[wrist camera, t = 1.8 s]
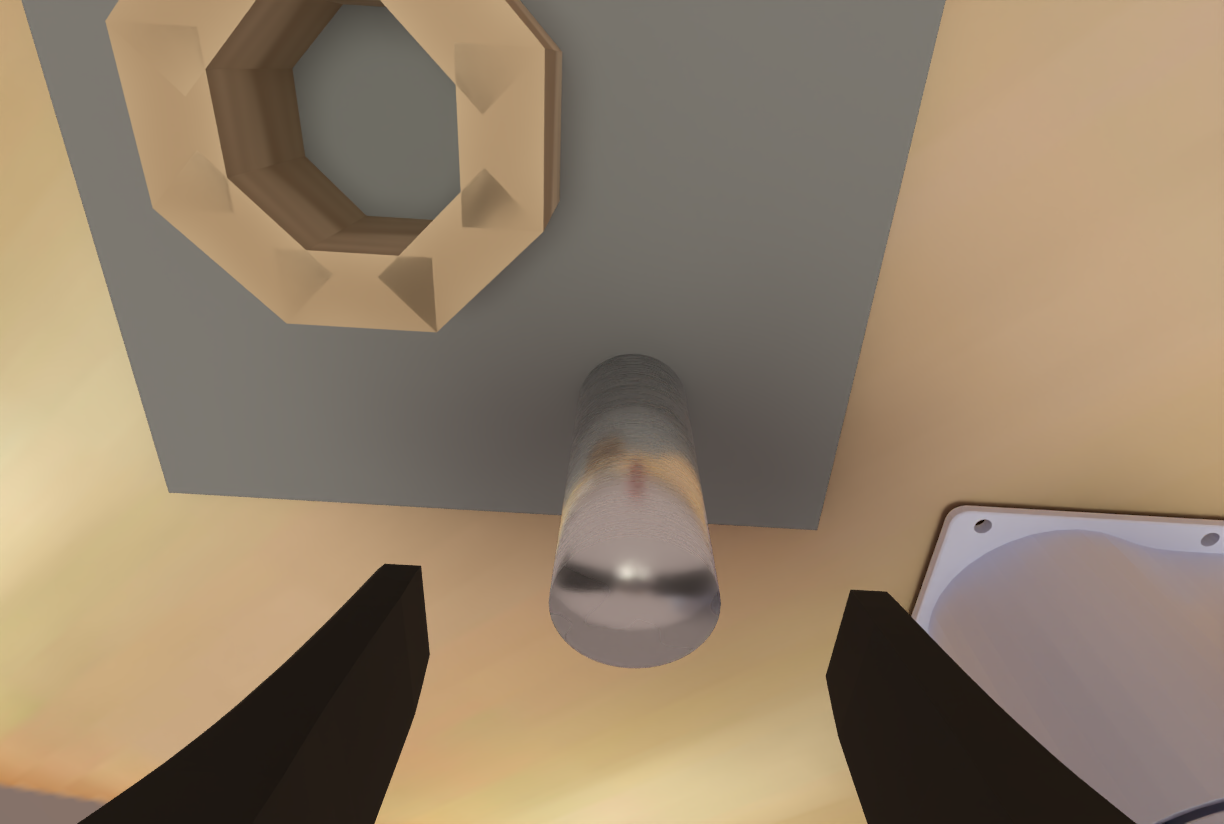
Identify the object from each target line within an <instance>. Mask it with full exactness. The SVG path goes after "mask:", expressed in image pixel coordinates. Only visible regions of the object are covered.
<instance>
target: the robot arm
mask: <svg viewBox="0 0 1224 824" xmlns="http://www.w3.org/2000/svg"><path fill="white" fill-rule="evenodd" d="M984 519H985V521H984V522H983V523H981V524H980V525H975V524H976V523H977V522H978V521H980V520H984ZM1205 535H1206V536H1205ZM429 655H430V653H429V642H428V632H427V622H426V612H425V602H424V591H423V581H422V571H421V566H413V565H395V564H384V565H383V566H382V567H380V568H379V569H378V570H377V571H376V572H375V573H374V574H373V575H372V576H371V577H370V578H369V579H368V580H367V581H366V582H365V583H364V584H363V585H362V587H361V588H360V589H359V590H358V591H357V592H356V593H355V594H354V595H353V596H352V597H351V598H350V599H349V600H348V601H347V602H346V603H345V604H344V605H343V606H342V607H341V608H340V609H339V610H338V611H337V612H336V613H335V614H334V615H333V616H332V617H331V618H330V619H329V620H328V621H327V622H326V623H325V624H324V625H323V626H322V627H321V628H320V629H319V630H318V631H317V632H316V633H315V634H314V635H313V636H312V637H311V638H310V639H309V640H308V641H307V642H306V643H305V644H304V645H303V646H302V647H301V648H300V649H299V650H298V651H296V652H295V653H294V654H293V655H292V656H291V657H290V658H289V659H288V660H287V661H286V662H285V663H284V664H283V665H282V666H281V667H279V668H278V669H277V670H276V671H275V672H274V673H273V674H272V675H270V676H269V677H268V678H267V679H266V680H265V681H264V682H263V683H261V684H260V685H259V686H258V687H257V688H256V689H255V690H254V691H252V692H251V693H250V694H249V695H248V696H247V697H246V698H245V699H243V700H242V701H241V702H240V703H239V704H238V705H237V706H235V707H234V708H233V709H232V710H231V711H229V712H228V713H227V714H226V715H225V716H223V717H222V718H221V719H220V720H219V721H217V722H216V723H215V724H214V725H212V726H211V727H210V728H209V729H207V730H206V731H205V732H204V733H202V734H201V735H200V736H199V737H197V738H196V739H195V740H194V741H192V742H191V743H190V744H188V745H187V746H186V747H185V748H183V749H182V750H181V751H179V752H178V753H177V754H175V755H174V756H173V757H172V758H170V759H169V760H168V761H166V762H165V763H164V764H162V765H161V766H159V767H158V768H157V769H155V770H154V771H152V772H151V773H150V774H148V775H147V776H145V777H144V778H143V779H141V780H140V781H138V782H137V783H136V784H134V785H133V786H131V787H130V788H128V789H127V790H125V791H124V792H123V793H121V794H120V795H118V796H117V797H115V798H114V799H112V800H111V801H110V802H108V803H107V804H105V805H104V806H102V807H101V808H99V809H98V810H97V811H95V812H94V813H92V814H91V815H89V816H88V817H86V818H85V819H84V820H82V821H80V822H79V823H78V824H374V823H375V820H376V818H377V815H378V812H379V810H380V807H381V804H382V802H383V799H384V796H385V794H386V791H387V788H388V786H389V783H390V780H391V778H392V775H393V772H394V770H395V767H396V764H397V762H398V759H399V756H400V754H401V751H402V748H403V746H404V743H405V740H406V737H407V735H408V732H409V729H410V726H411V724H412V721H413V718H414V715H415V712H416V708H417V704H418V700H419V697H420V693H421V689H422V685H423V681H424V676H425V672H426V668H427V664H428V660H429ZM826 680H827V685H828V690H829V695H830V700H831V705H832V710H833V715H834V719H835V724H836V728H837V732H838V737H839V740H840V743H841V746H842V749H843V752H844V755H845V758H846V761H847V764H848V767H849V770H850V773H851V776H852V779H853V782H854V785H855V788H856V791H857V794H858V797H859V800H860V803H861V806H862V809H863V812H864V814H865V817H866V820H867V823H868V824H1224V520H1208V519H1191V518H1174V517H1157V516H1140V515H1122V514H1105V513H1088V512H1071V511H1054V510H1037V509H1020V508H1002V507H985V506H968V505H965V506H959V507H956V508H954V509H953V510H951V511H950V512H949V513H948V515H947V516H946V518H945V521H944V524H943V527H942V530H941V533H940V535H939V538H938V541H937V544H936V547H935V550H934V553H933V556H932V558H931V561H930V564H929V567H928V570H927V573H926V576H925V578H924V581H923V584H922V587H921V590H920V593H919V596H918V599H917V601H916V604H915V607H914V610H913V613H912V616H910V615H909V614H908V613H907V612H906V611H905V610H904V609H903V608H902V606H901V605H900V604H899V603H898V602H897V601H896V600H895V599H894V598H893V597H892V596H891V595H890V594H889V593H888V592H882V591H864V590H850V593H849V597H848V600H847V604H846V607H845V611H844V614H843V618H842V621H841V625H840V628H839V632H838V635H837V639H836V642H835V646H834V649H833V653H832V656H831V660H830V663H829V667H828V670H827V674H826Z"/></svg>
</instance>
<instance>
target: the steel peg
mask: <svg viewBox="0 0 1224 824" xmlns="http://www.w3.org/2000/svg"><path fill="white" fill-rule="evenodd" d="M720 606H721V602H720V593H719V587H718V581H717V575H716V569H715V564H714V558H713V552H712V546H711V541H710V535H709V529H708V523H707V517H706V512H705V506H704V500H703V494H702V489H701V483H700V477H699V471H698V465H697V460H696V454H695V448H694V442H693V436H692V431H691V425H690V419H689V413H688V408H687V402H686V396H685V391H684V388H683V385H682V383H681V381H680V379H679V377H678V376H677V375H676V373H675V372H674V371H673V370H672V369H671V368H670V367H669V366H668V365H666V364H665V363H663V362H662V361H660V360H658V359H656V358H653V357H651V356H647V355H642V354H623V355H618V356H615V357H612V358H609V359H607V360H605V361H603V362H602V363H600V364H599V365H597V366H596V367H595V368H594V369H593V370H592V371H591V372H590V373H589V375H588V376H587V377H586V379H585V381H584V383H583V385H582V387H581V391H580V395H579V402H578V409H577V415H576V422H575V429H574V435H573V442H572V449H571V455H570V462H569V469H568V475H567V482H566V489H565V495H564V502H563V509H562V515H561V522H560V529H559V535H558V542H557V549H556V555H555V562H554V569H553V575H552V582H551V589H550V596H549V611H550V615H551V619H552V621H553V624H554V626H555V628H556V629H557V631H558V633H559V634H560V635H561V637H562V638H563V639H564V640H565V641H566V642H567V643H568V644H569V645H570V646H571V647H572V648H574V649H575V650H576V651H578V652H579V653H581V654H582V655H584V656H586V657H588V658H590V659H592V660H595V661H597V662H600V663H603V664H607V665H611V666H616V667H623V668H648V667H654V666H660V665H664V664H667V663H671V662H673V661H676V660H678V659H680V658H682V657H684V656H686V655H688V654H690V653H691V652H692V651H694V650H695V649H697V648H698V647H699V646H700V645H701V644H702V643H704V641H705V640H706V639H707V638H708V637H709V636H710V634H711V633H712V631H713V629H714V628H715V625H716V623H717V621H718V618H719V614H720Z"/></svg>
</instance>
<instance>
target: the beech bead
mask: <svg viewBox="0 0 1224 824" xmlns="http://www.w3.org/2000/svg"><path fill="white" fill-rule="evenodd" d="M343 4H347V5H363V6H379V7H387V9H388V10H389V11H390V12H391V13H392V14H393V15H394V16H395V17H396V19H397V20H398V21H399V22H400V23H401V24H402V25H403V26H404V27H405V29H406V30H407V31H408V32H409V33H410V34H411V35H412V36H413V38H414V39H415V40H416V41H417V42H418V43H419V44H420V45H421V46H422V48H423V49H424V50H425V51H426V52H427V53H428V54H429V55H430V56H431V58H432V59H433V60H434V61H435V62H436V63H437V64H438V65H439V66H440V68H441V69H442V70H443V71H444V72H445V73H446V74H447V75H448V77H449V78H450V79H451V80H452V81H453V82H454V83H455V84H456V102H457V123H458V145H459V166H460V187H461V192H460V193H459V194H458V195H457V196H456V197H455V198H454V199H453V200H452V201H451V203H450V204H449V205H448V206H447V207H446V208H445V209H444V210H443V211H442V212H441V213H440V214H439V215H438V216H437V217H436V218H435V219H434V220H427V219H411V218H394V217H378V216H366V215H365V214H364V213H363V212H362V211H361V210H360V209H359V208H358V207H357V206H356V205H355V204H354V203H353V202H352V201H351V200H350V199H349V198H348V197H347V196H346V195H345V194H344V193H343V192H342V191H340V190H339V189H338V188H337V187H336V186H335V185H334V184H333V183H332V182H331V181H330V180H329V179H328V178H327V177H326V176H325V175H324V174H323V173H322V172H321V171H320V170H319V169H318V168H317V167H316V166H315V165H314V164H313V163H312V162H311V161H310V160H309V159H308V158H306V157H305V152H304V145H303V138H302V131H301V124H300V118H299V111H298V104H297V97H296V90H295V84H294V77H293V70H292V68H293V67H294V66H295V65H296V63H297V62H298V61H299V59H300V58H301V57H302V56H303V54H304V53H305V52H306V51H307V49H308V48H309V47H310V46H311V44H312V43H313V42H314V40H315V39H316V38H317V37H318V35H319V34H320V33H321V32H322V30H323V29H324V28H325V27H326V25H327V24H328V23H329V21H330V20H331V19H332V18H333V16H334V15H335V14H336V13H337V11H338V10H339V9H340V7H341V6H342V5H343ZM105 22H106V26H107V30H108V34H109V37H110V41H111V45H112V49H113V53H114V57H115V61H116V65H117V69H118V73H119V77H120V81H121V85H122V89H123V93H124V97H125V101H126V105H127V109H128V112H129V116H130V120H131V124H132V128H133V132H134V136H135V140H136V144H137V148H138V152H139V156H140V160H141V164H142V168H143V172H144V176H145V180H146V183H147V187H148V191H149V195H150V199H151V203H152V207H153V209H154V210H156V211H157V212H158V213H159V214H160V215H161V216H162V217H164V218H165V219H166V220H167V221H168V222H169V223H171V224H172V225H173V226H174V227H175V228H176V229H178V230H179V231H180V232H181V233H182V234H183V235H185V236H186V237H187V238H188V239H189V240H190V241H191V242H193V243H194V244H195V245H196V246H197V247H198V248H200V249H201V250H202V251H203V252H204V253H205V254H207V255H208V256H209V257H210V258H211V259H212V260H214V261H215V262H216V263H217V264H218V265H219V266H221V267H222V268H223V269H224V270H225V271H226V272H227V273H229V274H230V275H231V276H232V277H233V278H234V279H236V280H237V281H238V282H239V283H240V284H241V285H243V286H244V287H245V288H246V289H247V290H248V291H250V292H251V293H252V294H253V295H254V296H255V297H257V298H258V299H259V300H260V301H261V302H262V303H263V304H265V305H266V306H267V307H268V308H269V309H270V310H272V311H273V312H274V313H275V314H276V315H277V316H279V317H280V318H281V319H282V320H283V321H284V322H286V323H288V324H305V325H321V326H338V327H355V328H372V329H389V330H405V331H422V332H436V333H437V332H438V331H439V330H440V329H441V328H442V327H443V326H444V325H445V324H446V323H447V322H448V321H449V320H450V319H451V318H452V317H454V316H455V315H456V314H457V313H458V312H459V311H460V310H461V309H462V308H463V307H464V306H465V305H466V304H467V303H468V302H469V301H470V300H472V299H473V298H474V297H475V296H476V295H477V294H478V293H479V292H480V291H481V290H482V289H483V288H484V287H485V286H486V285H487V284H488V283H490V282H491V281H492V280H493V279H494V278H495V277H496V276H497V275H498V274H499V273H500V272H501V271H502V270H503V269H504V268H505V267H506V266H508V265H509V264H510V263H511V262H512V261H513V260H514V259H515V258H516V257H517V256H518V255H519V254H520V253H521V252H522V251H523V250H524V249H526V248H527V247H528V246H529V245H530V244H531V243H532V242H533V241H534V240H535V239H536V238H537V237H538V236H539V235H540V234H541V233H543V232H544V230H545V228H546V226H547V224H548V222H549V220H550V218H551V216H552V214H553V212H554V210H555V208H556V206H557V204H558V203H559V201H560V149H561V95H562V51H561V50H560V49H559V47H558V46H557V45H556V44H555V43H554V41H553V40H552V39H551V38H550V36H549V35H548V34H547V33H546V32H545V30H544V29H543V28H542V27H541V25H540V24H539V23H538V22H537V21H536V19H535V18H534V17H533V16H532V14H531V13H530V12H529V11H528V10H527V8H526V7H525V6H524V5H523V3H522V2H521V1H520V0H119V1H118V2H117V4H116V5H115V7H114V8H113V10H112V11H111V13H110V15H109V16H108V18H107V19H106V21H105Z"/></svg>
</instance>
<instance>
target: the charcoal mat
mask: <svg viewBox="0 0 1224 824" xmlns="http://www.w3.org/2000/svg"><path fill="white" fill-rule="evenodd" d="M118 1H119V0H22V3H23V7H24V10H25V13H26V17H27V20H28V23H29V27H30V30H31V33H32V37H33V40H34V44H35V47H36V50H37V54H38V57H39V60H40V64H41V67H42V70H43V74H44V77H45V80H46V84H47V87H48V90H49V94H50V97H51V100H52V104H53V107H54V110H55V114H56V117H57V120H58V124H59V127H60V130H61V134H62V137H63V140H64V144H65V147H66V150H67V154H68V157H69V160H70V164H71V167H72V170H73V174H74V177H75V180H76V184H77V187H78V190H79V194H80V197H81V200H82V204H83V207H84V210H85V214H86V217H87V220H88V224H89V227H90V231H91V234H92V237H93V241H94V244H95V247H96V251H97V254H98V257H99V261H100V264H101V267H102V271H103V274H104V277H105V281H106V284H107V287H108V291H109V294H110V297H111V301H112V304H113V307H114V311H115V314H116V317H117V321H118V324H119V327H120V331H121V334H122V337H123V341H124V344H125V347H126V351H127V354H128V357H129V361H130V364H131V367H132V371H133V374H134V377H135V381H136V384H137V387H138V391H139V394H140V397H141V401H142V404H143V408H144V411H145V414H146V418H147V421H148V424H149V428H150V431H151V434H152V438H153V441H154V444H155V448H156V451H157V454H158V458H159V461H160V464H161V468H162V471H163V474H164V478H165V481H166V484H167V488H168V491H169V493H186V494H203V495H220V496H238V497H255V498H272V499H289V500H306V501H324V502H341V503H358V504H375V505H393V506H410V507H427V508H444V509H461V510H479V511H496V512H513V513H530V514H548V515H562V509H563V502H564V495H565V489H566V482H567V475H568V469H569V462H570V455H571V449H572V442H573V435H574V429H575V422H576V415H577V409H578V402H579V395H580V391H581V387H582V385H583V383H584V381H585V379H586V377H587V376H588V375H589V373H590V372H591V371H592V370H593V369H594V368H595V367H596V366H597V365H599V364H600V363H602V362H603V361H605V360H607V359H609V358H612V357H615V356H618V355H623V354H642V355H647V356H651V357H653V358H656V359H658V360H660V361H662V362H663V363H665V364H666V365H668V366H669V367H670V368H671V369H672V370H673V371H674V372H675V373H676V375H677V376H678V377H679V379H680V381H681V383H682V385H683V388H684V391H685V396H686V402H687V408H688V413H689V419H690V425H691V431H692V436H693V442H694V448H695V454H696V460H697V465H698V471H699V477H700V483H701V489H702V494H703V500H704V506H705V512H706V517H707V523H708V524H720V525H737V526H754V527H771V528H789V529H806V530H817V528H818V524H819V520H820V516H821V512H822V508H823V504H824V500H825V495H826V491H827V487H828V483H829V479H830V475H831V471H832V467H833V462H834V458H835V454H836V450H837V446H838V442H839V438H840V434H841V429H842V425H843V421H844V417H845V413H846V409H847V405H848V401H849V396H850V392H851V388H852V384H853V380H854V376H855V372H856V368H857V364H858V359H859V355H860V351H861V347H862V343H863V339H864V335H865V331H866V326H867V322H868V318H869V314H870V310H871V306H872V302H873V298H874V293H875V289H876V285H877V281H878V277H879V273H880V269H881V265H882V260H883V256H884V252H885V248H886V244H887V240H888V236H889V232H890V227H891V223H892V219H893V215H894V211H895V207H896V203H897V199H898V195H899V190H900V186H901V182H902V178H903V174H904V170H905V166H906V162H907V157H908V153H909V149H910V145H911V141H912V137H913V133H914V129H915V124H916V120H917V116H918V112H919V108H920V104H921V100H922V96H923V91H924V87H925V83H926V79H927V75H928V71H929V67H930V63H931V59H932V54H933V50H934V46H935V42H936V38H937V34H938V30H939V26H940V21H941V17H942V13H943V9H944V5H945V1H946V0H520V1H521V2H522V3H523V5H524V6H525V7H526V8H527V10H528V11H529V12H530V13H531V14H532V16H533V17H534V18H535V19H536V21H537V22H538V23H539V24H540V25H541V27H542V28H543V29H544V30H545V32H546V33H547V34H548V35H549V36H550V38H551V39H552V40H553V41H554V43H555V44H556V45H557V46H558V47H559V49H560V50H561V51H562V95H561V149H560V201H559V203H558V204H557V206H556V208H555V210H554V212H553V214H552V216H551V218H550V220H549V222H548V224H547V226H546V228H545V230H544V232H543V233H541V234H540V235H539V236H538V237H537V238H536V239H535V240H534V241H533V242H532V243H531V244H530V245H529V246H528V247H527V248H526V249H524V250H523V251H522V252H521V253H520V254H519V255H518V256H517V257H516V258H515V259H514V260H513V261H512V262H511V263H510V264H509V265H508V266H506V267H505V268H504V269H503V270H502V271H501V272H500V273H499V274H498V275H497V276H496V277H495V278H494V279H493V280H492V281H491V282H490V283H488V284H487V285H486V286H485V287H484V288H483V289H482V290H481V291H480V292H479V293H478V294H477V295H476V296H475V297H474V298H473V299H472V300H470V301H469V302H468V303H467V304H466V305H465V306H464V307H463V308H462V309H461V310H460V311H459V312H458V313H457V314H456V315H455V316H454V317H452V318H451V319H450V320H449V321H448V322H447V323H446V324H445V325H444V326H443V327H442V328H441V329H440V330H439V331H438V332H437V333H436V332H422V331H405V330H389V329H372V328H355V327H338V326H321V325H305V324H288V323H286V322H284V321H283V320H282V319H281V318H280V317H279V316H277V315H276V314H275V313H274V312H273V311H272V310H270V309H269V308H268V307H267V306H266V305H265V304H263V303H262V302H261V301H260V300H259V299H258V298H257V297H255V296H254V295H253V294H252V293H251V292H250V291H248V290H247V289H246V288H245V287H244V286H243V285H241V284H240V283H239V282H238V281H237V280H236V279H234V278H233V277H232V276H231V275H230V274H229V273H227V272H226V271H225V270H224V269H223V268H222V267H221V266H219V265H218V264H217V263H216V262H215V261H214V260H212V259H211V258H210V257H209V256H208V255H207V254H205V253H204V252H203V251H202V250H201V249H200V248H198V247H197V246H196V245H195V244H194V243H193V242H191V241H190V240H189V239H188V238H187V237H186V236H185V235H183V234H182V233H181V232H180V231H179V230H178V229H176V228H175V227H174V226H173V225H172V224H171V223H169V222H168V221H167V220H166V219H165V218H164V217H162V216H161V215H160V214H159V213H158V212H157V211H156V210H154V209H153V207H152V203H151V199H150V195H149V191H148V187H147V183H146V180H145V176H144V172H143V168H142V164H141V160H140V156H139V152H138V148H137V144H136V140H135V136H134V132H133V128H132V124H131V120H130V116H129V112H128V109H127V105H126V101H125V97H124V93H123V89H122V85H121V81H120V77H119V73H118V69H117V65H116V61H115V57H114V53H113V49H112V45H111V41H110V37H109V34H108V30H107V26H106V22H105V21H106V19H107V18H108V16H109V15H110V13H111V11H112V10H113V8H114V7H115V5H116V4H117V2H118ZM292 70H293V77H294V84H295V90H296V97H297V104H298V111H299V118H300V124H301V131H302V138H303V145H304V152H305V157H306V158H308V159H309V160H310V161H311V162H312V163H313V164H314V165H315V166H316V167H317V168H318V169H319V170H320V171H321V172H322V173H323V174H324V175H325V176H326V177H327V178H328V179H329V180H330V181H331V182H332V183H333V184H334V185H335V186H336V187H337V188H338V189H339V190H340V191H342V192H343V193H344V194H345V195H346V196H347V197H348V198H349V199H350V200H351V201H352V202H353V203H354V204H355V205H356V206H357V207H358V208H359V209H360V210H361V211H362V212H363V213H364V214H365V215H366V216H378V217H394V218H411V219H427V220H434V219H435V218H436V217H437V216H438V215H439V214H440V213H441V212H442V211H443V210H444V209H445V208H446V207H447V206H448V205H449V204H450V203H451V201H452V200H453V199H454V198H455V197H456V196H457V195H458V194H459V193H460V192H461V187H460V166H459V145H458V123H457V102H456V84H455V83H454V82H453V81H452V80H451V79H450V78H449V77H448V75H447V74H446V73H445V72H444V71H443V70H442V69H441V68H440V66H439V65H438V64H437V63H436V62H435V61H434V60H433V59H432V58H431V56H430V55H429V54H428V53H427V52H426V51H425V50H424V49H423V48H422V46H421V45H420V44H419V43H418V42H417V41H416V40H415V39H414V38H413V36H412V35H411V34H410V33H409V32H408V31H407V30H406V29H405V27H404V26H403V25H402V24H401V23H400V22H399V21H398V20H397V19H396V17H395V16H394V15H393V14H392V13H391V12H390V11H389V10H388V9H387V7H379V6H363V5H347V4H343V5H342V6H341V7H340V9H339V10H338V11H337V13H336V14H335V15H334V16H333V18H332V19H331V20H330V21H329V23H328V24H327V25H326V27H325V28H324V29H323V30H322V32H321V33H320V34H319V35H318V37H317V38H316V39H315V40H314V42H313V43H312V44H311V46H310V47H309V48H308V49H307V51H306V52H305V53H304V54H303V56H302V57H301V58H300V59H299V61H298V62H297V63H296V65H295V66H294V67H293V68H292Z"/></svg>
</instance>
